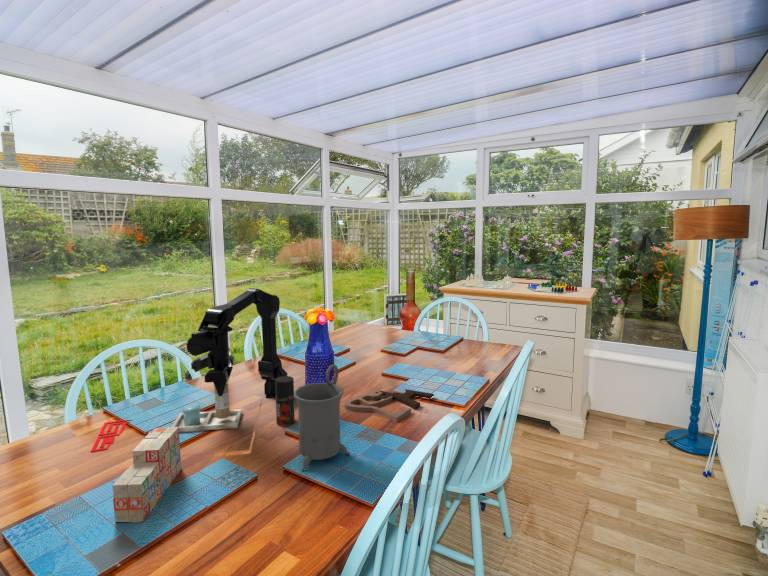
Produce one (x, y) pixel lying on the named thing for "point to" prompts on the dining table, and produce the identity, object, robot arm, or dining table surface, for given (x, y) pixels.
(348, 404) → the wood carving
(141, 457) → the stack of blocks
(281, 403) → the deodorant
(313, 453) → the grey footed bucket
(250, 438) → the dining table surface
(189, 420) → the pot
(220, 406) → the sprinkles bottle
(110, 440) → the maze puzzle
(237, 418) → the caddy
